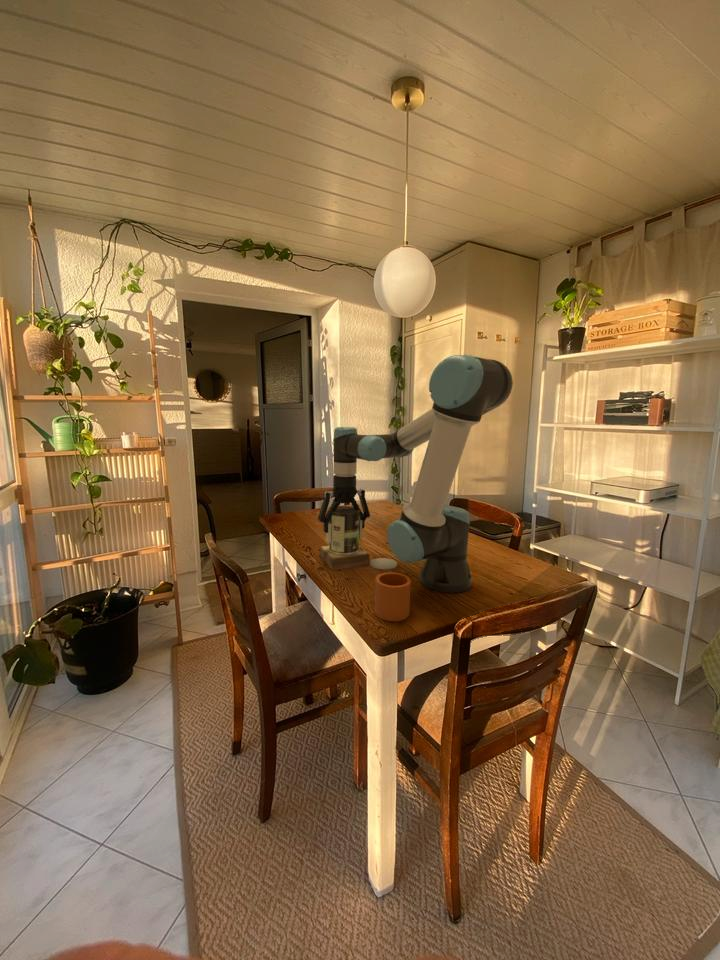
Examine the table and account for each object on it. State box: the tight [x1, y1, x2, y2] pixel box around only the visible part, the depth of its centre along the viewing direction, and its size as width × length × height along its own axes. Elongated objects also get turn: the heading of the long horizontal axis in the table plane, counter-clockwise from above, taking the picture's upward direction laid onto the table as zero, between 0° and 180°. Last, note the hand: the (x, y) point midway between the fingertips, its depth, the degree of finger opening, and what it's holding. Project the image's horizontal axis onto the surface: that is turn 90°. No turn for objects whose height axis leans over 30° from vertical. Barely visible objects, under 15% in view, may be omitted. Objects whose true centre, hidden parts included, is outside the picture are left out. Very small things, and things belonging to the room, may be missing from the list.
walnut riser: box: [319, 545, 371, 571], centre depth 135 cm, size 13×13×4 cm
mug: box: [373, 571, 412, 622], centre depth 102 cm, size 9×12×9 cm
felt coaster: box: [369, 557, 398, 571], centre depth 132 cm, size 9×9×1 cm
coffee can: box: [328, 505, 361, 555], centre depth 133 cm, size 10×10×14 cm
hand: (344, 539), depth 134 cm, fingers open, 10 cm apart
